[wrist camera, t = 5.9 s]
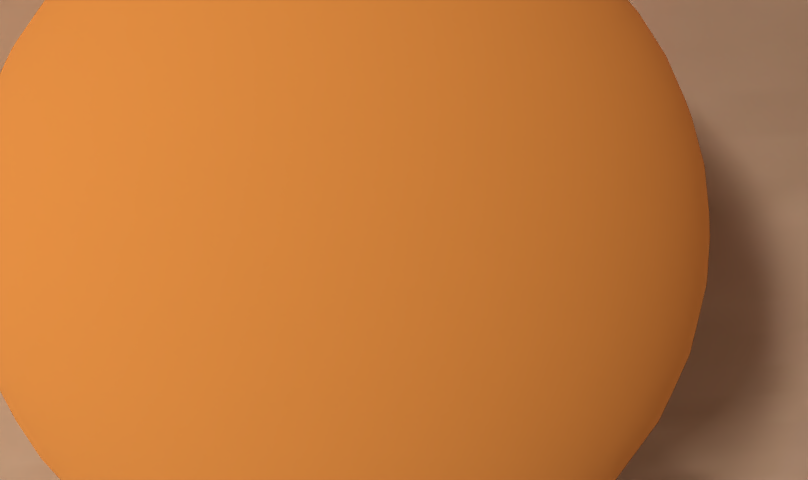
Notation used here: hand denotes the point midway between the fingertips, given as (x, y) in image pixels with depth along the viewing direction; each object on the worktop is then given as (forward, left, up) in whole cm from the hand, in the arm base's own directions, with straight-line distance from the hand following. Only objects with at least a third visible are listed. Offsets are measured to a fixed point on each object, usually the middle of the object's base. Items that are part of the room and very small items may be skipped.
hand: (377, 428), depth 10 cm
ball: (-4, 0, +2) cm, 4 cm away
